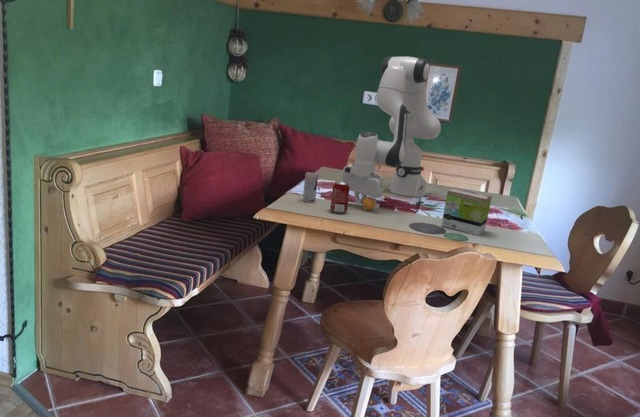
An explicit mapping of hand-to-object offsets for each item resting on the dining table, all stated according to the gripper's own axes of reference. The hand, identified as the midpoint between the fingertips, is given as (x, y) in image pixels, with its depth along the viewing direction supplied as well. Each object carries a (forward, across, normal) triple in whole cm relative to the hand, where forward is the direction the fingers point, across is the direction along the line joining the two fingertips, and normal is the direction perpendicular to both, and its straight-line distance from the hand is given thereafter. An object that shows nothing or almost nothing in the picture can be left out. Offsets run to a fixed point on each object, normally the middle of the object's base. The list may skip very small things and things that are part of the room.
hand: (359, 203), depth 221 cm
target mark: (+2, -34, 0) cm, 34 cm away
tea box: (+2, -42, -14) cm, 44 cm away
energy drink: (+2, +17, +13) cm, 21 cm away
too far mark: (+2, -46, 0) cm, 46 cm away
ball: (-1, -5, 0) cm, 5 cm away
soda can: (+2, -1, +15) cm, 15 cm away
